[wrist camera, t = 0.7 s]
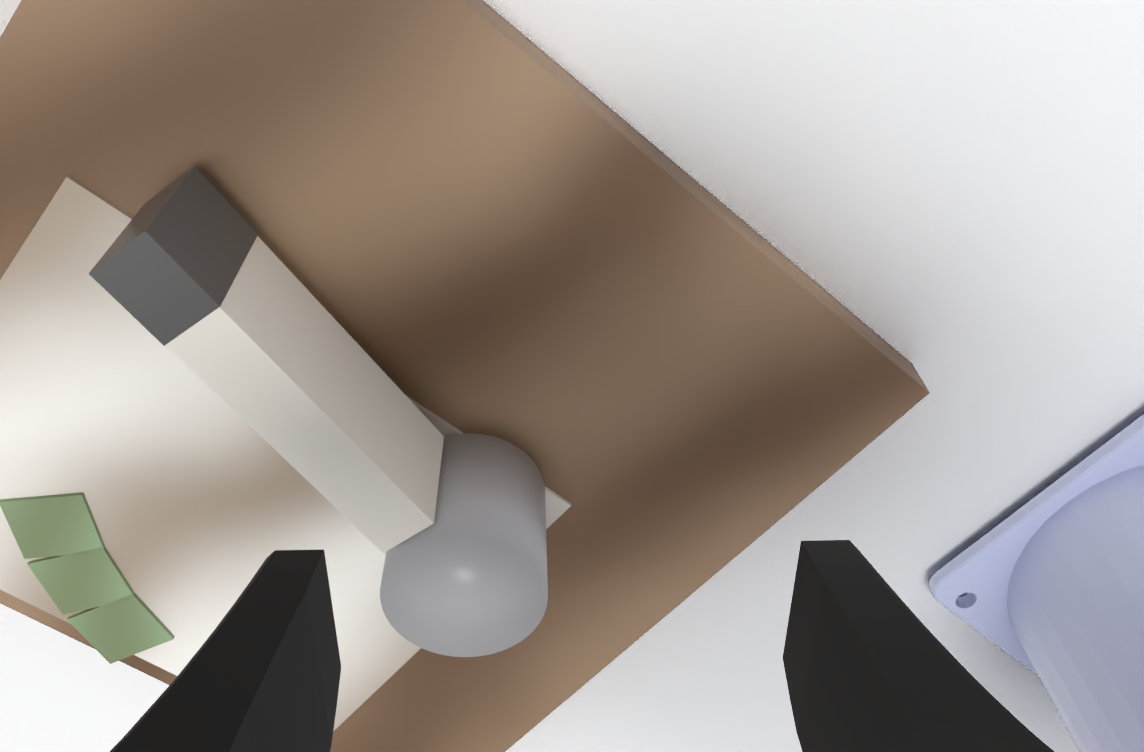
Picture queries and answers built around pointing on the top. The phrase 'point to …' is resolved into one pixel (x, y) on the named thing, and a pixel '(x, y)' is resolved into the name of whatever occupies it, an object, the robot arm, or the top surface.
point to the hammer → (341, 423)
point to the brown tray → (394, 337)
